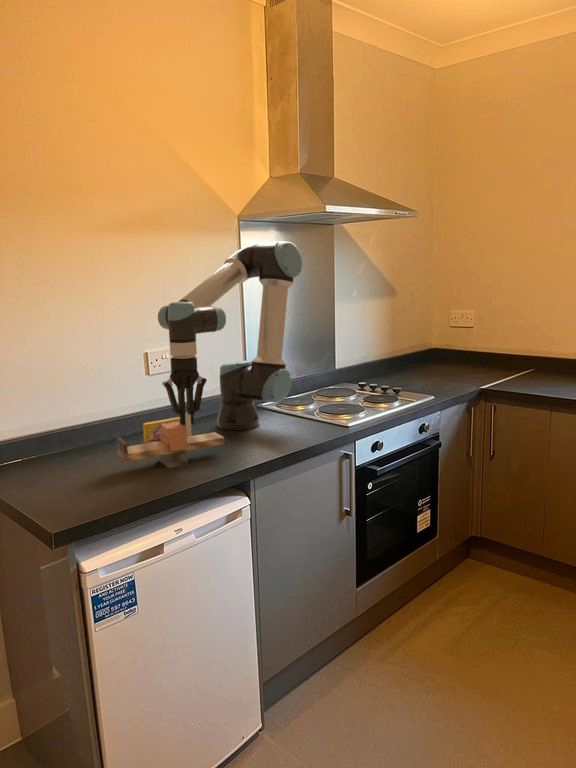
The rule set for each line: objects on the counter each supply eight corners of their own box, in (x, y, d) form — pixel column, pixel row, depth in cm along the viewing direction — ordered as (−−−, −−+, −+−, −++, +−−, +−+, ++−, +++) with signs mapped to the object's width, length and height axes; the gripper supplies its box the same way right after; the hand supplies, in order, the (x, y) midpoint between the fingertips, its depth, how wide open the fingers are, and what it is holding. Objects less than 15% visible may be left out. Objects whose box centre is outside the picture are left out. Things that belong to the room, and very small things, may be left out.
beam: (215, 450, 185) (213, 422, 183) (225, 457, 178) (224, 428, 177) (118, 467, 170) (116, 437, 169) (126, 476, 164) (123, 444, 162)
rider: (176, 440, 179) (175, 420, 178) (187, 448, 171) (186, 427, 170) (160, 443, 176) (159, 423, 175) (170, 451, 169) (169, 430, 167)
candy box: (146, 449, 187) (144, 424, 186) (143, 448, 189) (141, 423, 187) (192, 440, 197) (190, 415, 195) (188, 438, 199) (187, 414, 197)
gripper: (199, 352, 177) (203, 429, 182) (157, 356, 171) (162, 435, 175) (209, 355, 171) (212, 434, 175) (166, 359, 164) (170, 441, 169)
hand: (187, 435), depth 175 cm, fingers closed
